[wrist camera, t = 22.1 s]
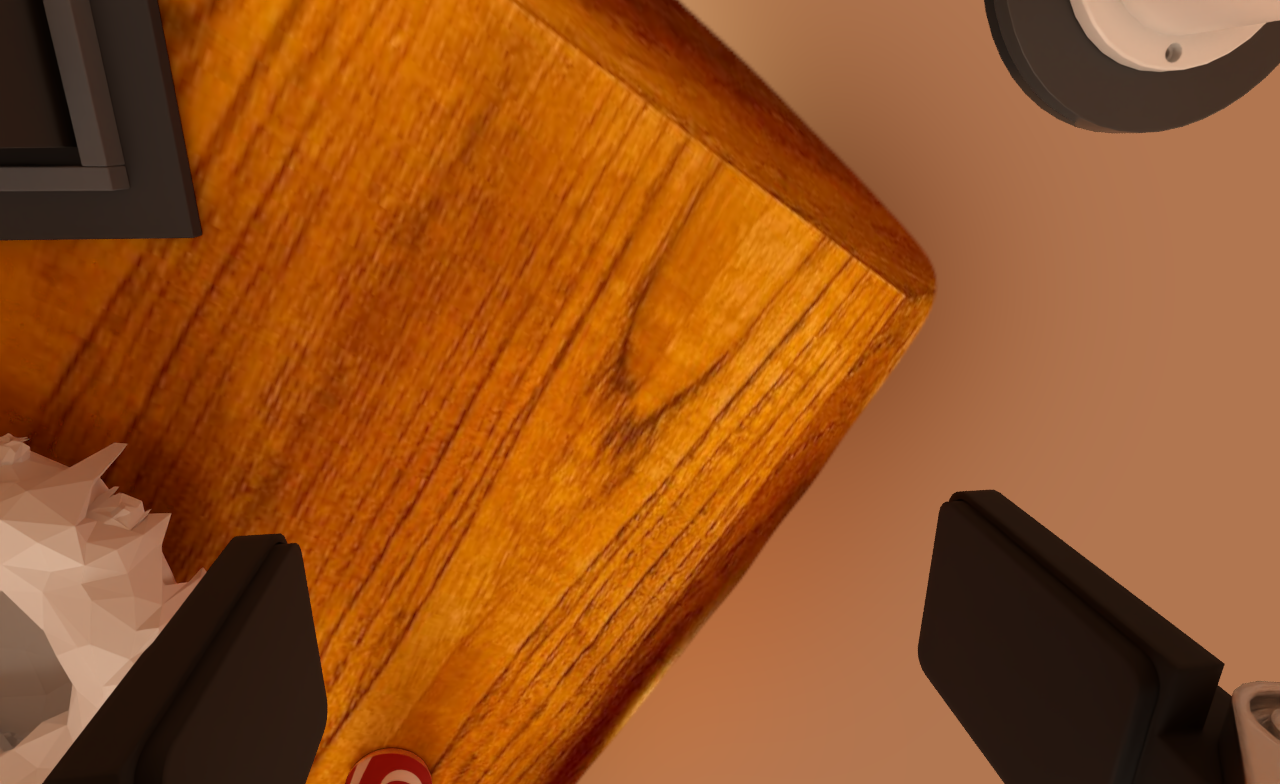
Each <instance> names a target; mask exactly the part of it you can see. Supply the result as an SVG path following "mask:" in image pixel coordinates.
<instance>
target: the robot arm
mask: <svg viewBox="0 0 1280 784" xmlns="http://www.w3.org/2000/svg"><path fill="white" fill-rule="evenodd" d="M1070 2H1071V5H1072V8H1073V11H1074V14H1075V17H1076V18H1077V20H1078V22H1079V24H1080V25H1081V27H1082V29H1083V30H1084V32H1085V34H1086V36H1087V37H1088V38H1089V39H1090V40H1091V41H1092V42H1093V43H1094V44H1095V45H1096V47H1097V48H1098V49H1099V50H1100V51H1101V52H1102V53H1104V54H1105V55H1107V56H1108V57H1110V58H1111V59H1113V60H1115V61H1116V62H1118V63H1119V64H1122V65H1125V66H1128V67H1131V68H1134V69H1137V70H1141V71H1154V72H1165V71H1174V70H1185V69H1189V68H1192V67H1196V66H1200V65H1204V64H1207V63H1210V62H1212V61H1214V60H1216V59H1218V58H1220V57H1222V56H1224V55H1226V54H1228V53H1230V52H1231V51H1233V50H1234V49H1236V48H1237V47H1239V46H1240V45H1241V44H1243V43H1244V42H1246V41H1247V40H1248V39H1250V38H1251V37H1252V36H1253V35H1254V34H1255V33H1256V32H1257V31H1258V30H1259V29H1260V28H1261V27H1262V26H1263V25H1264V24H1266V23H1267V22H1272V21H1279V20H1280V0H1070ZM918 657H919V661H920V665H921V667H922V670H923V671H924V673H925V675H926V676H927V678H928V679H929V680H930V682H931V683H932V684H933V686H934V687H935V689H936V690H937V691H938V693H939V694H940V695H941V697H942V698H943V699H944V701H945V702H946V704H947V705H948V706H949V708H950V709H951V711H952V712H953V713H954V715H955V716H956V717H957V719H958V720H959V721H960V723H961V724H962V726H963V727H964V728H965V730H966V731H967V732H968V734H969V735H970V737H971V738H972V739H973V741H974V742H975V744H976V745H977V746H978V747H979V749H980V750H981V752H982V753H983V754H984V756H985V757H986V759H987V760H988V761H989V763H990V764H991V766H992V767H993V768H994V770H995V771H996V772H997V774H998V775H999V777H1000V778H1001V779H1002V781H1003V782H1004V783H1005V784H1280V683H1279V682H1266V681H1265V682H1264V681H1256V682H1250V683H1245V684H1242V685H1241V686H1239V687H1238V688H1237V689H1235V690H1234V692H1233V695H1232V696H1231V695H1229V694H1228V693H1227V692H1226V691H1224V690H1223V689H1222V688H1221V687H1219V686H1218V682H1219V679H1220V676H1221V673H1222V670H1223V667H1224V663H1223V662H1221V661H1220V660H1219V659H1217V658H1216V657H1215V656H1214V655H1212V654H1211V653H1210V652H1208V651H1207V650H1206V649H1204V648H1203V647H1202V646H1200V645H1199V644H1198V643H1196V642H1195V641H1194V640H1193V639H1191V638H1190V637H1189V636H1187V635H1186V634H1184V633H1183V632H1182V631H1181V630H1179V629H1178V628H1177V627H1175V626H1174V625H1173V624H1172V623H1170V622H1169V621H1168V620H1166V619H1165V618H1164V617H1162V616H1161V615H1160V614H1158V613H1157V612H1156V611H1154V610H1153V609H1152V608H1151V607H1149V606H1148V605H1146V604H1145V603H1144V602H1143V601H1141V600H1140V599H1138V598H1137V597H1136V596H1135V595H1133V594H1132V593H1131V592H1129V591H1128V590H1127V589H1126V588H1124V587H1123V586H1122V585H1120V584H1119V583H1117V582H1116V581H1115V580H1114V579H1112V578H1111V577H1109V576H1108V575H1107V574H1106V573H1104V572H1103V571H1102V570H1101V569H1099V568H1098V567H1097V566H1095V565H1094V564H1093V563H1091V562H1090V561H1089V560H1087V559H1086V558H1085V557H1083V556H1082V555H1081V554H1080V553H1078V552H1077V551H1076V550H1074V549H1073V548H1072V547H1070V546H1069V545H1068V544H1066V543H1065V542H1064V541H1063V540H1061V539H1060V538H1059V537H1057V536H1056V535H1054V534H1053V533H1052V532H1051V531H1049V530H1048V529H1047V528H1045V527H1044V526H1043V525H1041V524H1040V523H1039V522H1037V521H1036V520H1035V519H1034V518H1032V517H1031V516H1030V515H1028V514H1027V513H1026V512H1024V511H1023V510H1022V509H1020V508H1019V507H1018V506H1016V505H1015V504H1014V503H1013V502H1011V501H1010V500H1009V499H1007V498H1006V497H1005V496H1003V495H1002V494H1001V493H999V492H997V491H995V490H979V491H963V492H956V493H954V494H953V495H952V496H951V498H950V500H949V502H945V503H943V504H942V506H941V507H940V511H939V516H938V523H937V529H936V536H935V542H934V549H933V555H932V561H931V567H930V573H929V580H928V587H927V593H926V599H925V606H924V612H923V618H922V624H921V631H920V637H919V644H918ZM326 721H327V697H326V692H325V686H324V680H323V674H322V668H321V662H320V657H319V651H318V645H317V639H316V633H315V627H314V622H313V616H312V610H311V604H310V598H309V593H308V587H307V581H306V575H305V569H304V563H303V558H302V553H301V549H300V547H299V545H298V544H297V543H290V544H287V541H286V539H285V537H284V536H283V535H282V534H265V535H249V536H236V537H234V538H233V539H232V540H231V541H230V542H229V544H228V545H227V546H226V547H225V549H224V550H223V551H222V553H221V554H220V555H219V557H218V558H217V559H216V561H215V562H214V563H213V564H212V566H211V567H210V568H209V570H208V571H207V572H206V574H205V575H204V576H203V578H202V579H201V580H200V581H199V583H198V584H197V585H196V587H195V588H194V589H193V591H192V592H191V593H190V595H189V596H188V597H187V598H186V600H185V601H184V602H183V604H182V605H181V606H180V608H179V609H178V610H177V612H176V613H175V614H174V615H173V617H172V618H171V619H170V621H169V622H168V623H167V625H166V626H165V627H164V629H163V630H162V631H161V632H160V634H159V635H158V636H157V638H156V639H155V640H154V642H153V643H152V644H151V645H150V646H149V647H148V648H147V649H146V650H145V651H144V652H143V653H142V654H141V656H140V657H139V658H138V659H137V661H136V662H135V663H134V665H133V666H132V667H131V669H130V670H129V671H128V672H127V674H126V675H125V676H124V678H123V679H122V680H121V682H120V683H119V684H118V685H117V687H116V688H115V689H114V691H113V692H112V693H111V695H110V696H109V697H108V698H107V700H106V701H105V702H104V704H103V705H102V706H101V708H100V709H99V710H98V711H97V713H96V714H95V715H94V717H93V718H92V719H91V721H90V722H89V723H88V724H87V726H86V727H85V728H84V730H83V731H82V732H81V734H80V735H79V736H78V737H77V739H76V740H75V741H74V743H73V744H72V745H71V747H70V748H69V749H68V750H67V752H66V753H65V754H64V756H63V757H62V758H61V760H60V761H59V762H58V763H57V765H56V766H55V767H54V769H53V770H52V771H51V773H50V774H49V775H48V776H47V778H46V779H45V780H44V782H43V783H42V784H305V783H306V780H307V777H308V775H309V772H310V769H311V766H312V764H313V761H314V758H315V755H316V752H317V750H318V747H319V744H320V741H321V739H322V736H323V733H324V730H325V726H326Z"/></svg>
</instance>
